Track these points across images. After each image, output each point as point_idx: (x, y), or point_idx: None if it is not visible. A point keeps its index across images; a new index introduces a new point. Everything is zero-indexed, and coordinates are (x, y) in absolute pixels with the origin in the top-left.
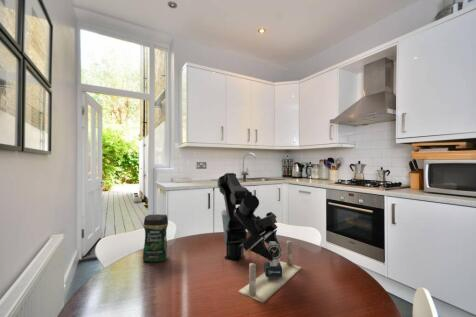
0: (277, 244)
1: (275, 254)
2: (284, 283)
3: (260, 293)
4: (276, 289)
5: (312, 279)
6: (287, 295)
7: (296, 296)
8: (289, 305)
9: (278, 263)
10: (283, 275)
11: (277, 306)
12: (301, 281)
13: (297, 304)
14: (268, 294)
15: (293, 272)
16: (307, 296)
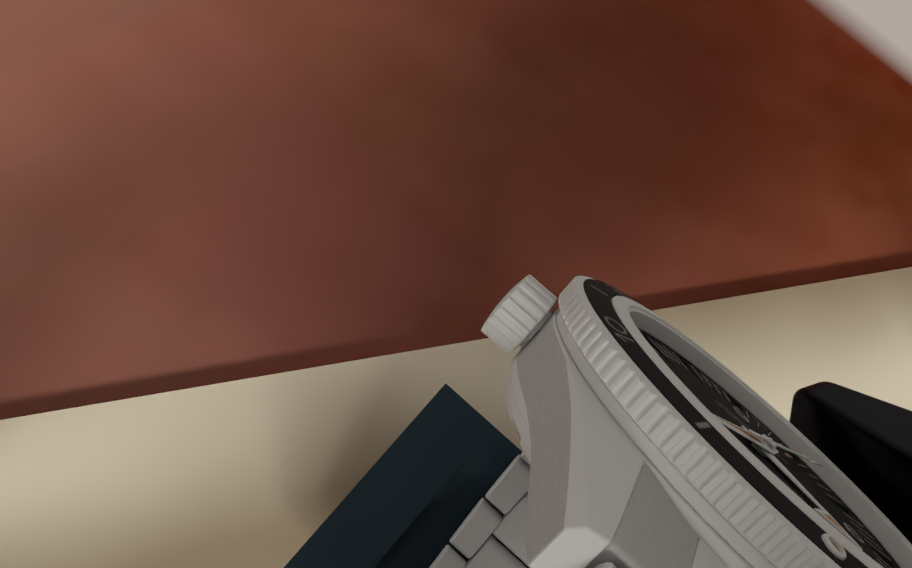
0: (607, 500)
1: (727, 404)
2: (450, 346)
3: (891, 388)
4: (676, 307)
5: (52, 145)
6: (637, 169)
7: (575, 92)
8: (758, 63)
9: (338, 562)
10: (283, 485)
11: (865, 133)
12: (219, 222)
13: (683, 19)
14: (829, 305)
15: (66, 434)
16: (483, 13)
